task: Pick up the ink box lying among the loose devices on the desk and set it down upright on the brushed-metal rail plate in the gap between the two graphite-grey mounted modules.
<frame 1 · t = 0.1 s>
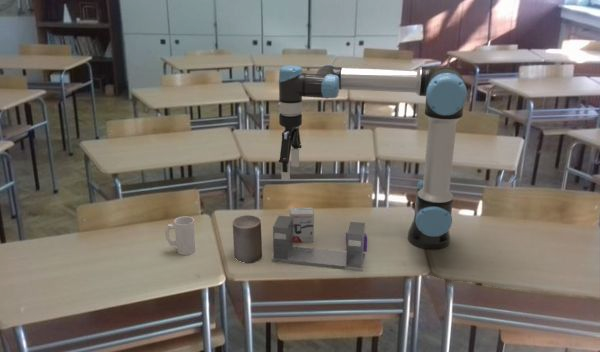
hand: (290, 173, 198), 28 cm above the table, fingers open, 13 cm apart
pillar candle: (247, 257, 200), on the table
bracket: (355, 244, 209), on the table
mug: (181, 251, 203), on the table
rail: (318, 259, 198), on the table
ink box: (301, 240, 212), on the table
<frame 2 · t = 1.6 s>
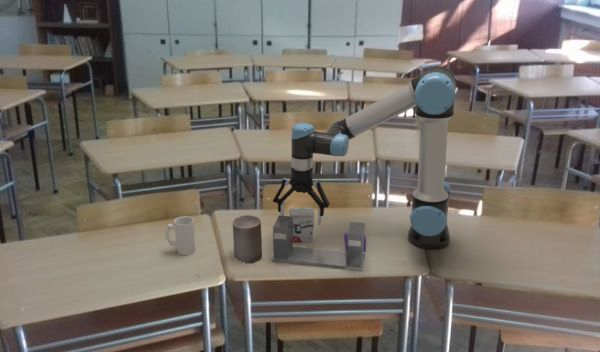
hand: (300, 221, 209), 7 cm above the table, fingers open, 13 cm apart
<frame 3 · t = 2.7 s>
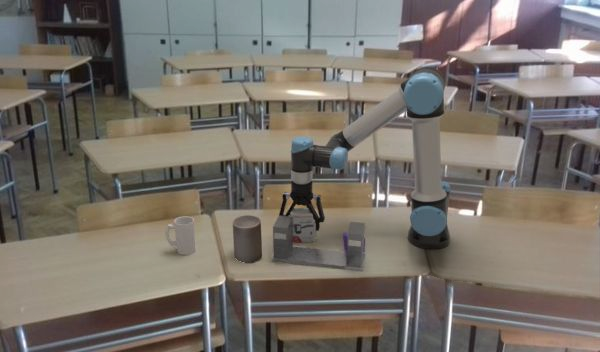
hand: (301, 236, 211), 1 cm above the table, fingers closed on ink box, 9 cm apart
ink box: (301, 240, 211), on the table, touching gripper
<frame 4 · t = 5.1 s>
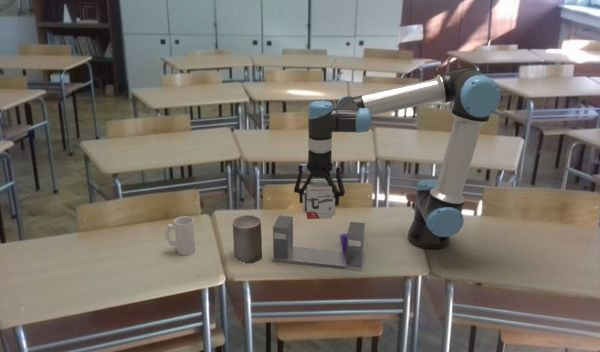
hand: (319, 212, 192), 17 cm above the table, fingers closed on ink box, 9 cm apart
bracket: (350, 246, 208), on the table
ink box: (319, 216, 193), point 16 cm above the table, touching gripper
everything else where it was.
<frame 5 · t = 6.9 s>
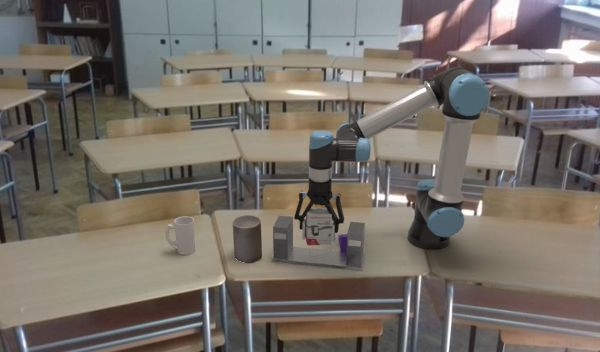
hand: (318, 239, 195), 8 cm above the table, fingers closed on ink box, 9 cm apart
ink box: (318, 242, 196), point 6 cm above the table, touching gripper
when the fingers open (5 cm above the table, at t = 8.9 s): ink box stays where it is, resting on rail.
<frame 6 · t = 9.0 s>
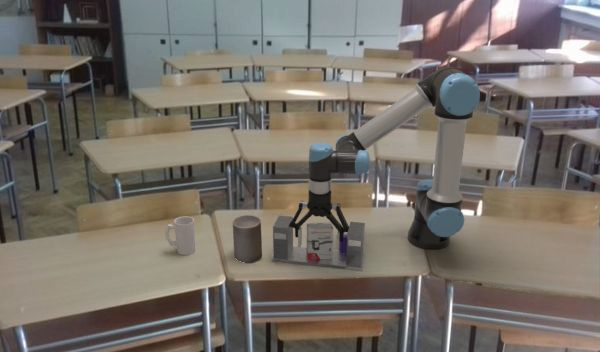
hand: (318, 247, 196), 5 cm above the table, fingers open, 13 cm apart
ink box: (319, 256, 198), point 1 cm above the table, touching rail
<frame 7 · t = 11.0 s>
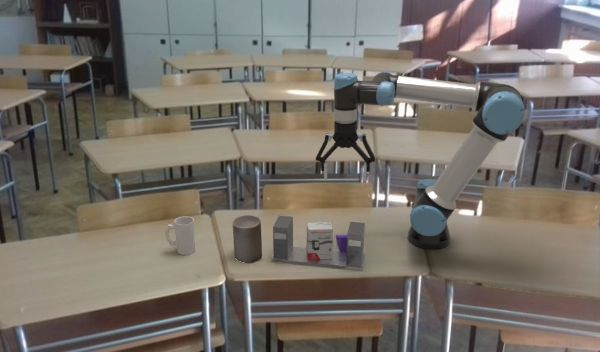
hand: (345, 180, 198), 25 cm above the table, fingers open, 13 cm apart
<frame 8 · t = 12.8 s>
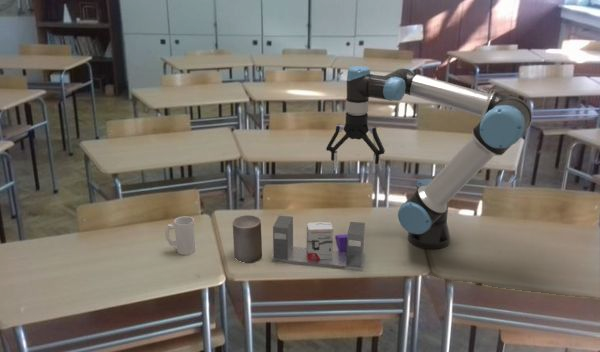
hand: (354, 170, 203), 27 cm above the table, fingers open, 13 cm apart
at the end: ink box inside the target area on the rail (0.2 cm from its centre), point 1.0 cm above the rail's base; ink box tilted 0°; the gripper is holding nothing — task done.
